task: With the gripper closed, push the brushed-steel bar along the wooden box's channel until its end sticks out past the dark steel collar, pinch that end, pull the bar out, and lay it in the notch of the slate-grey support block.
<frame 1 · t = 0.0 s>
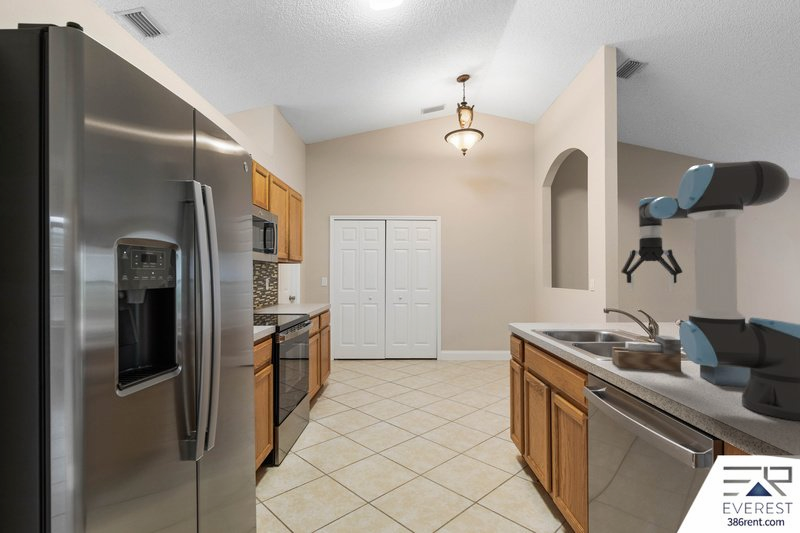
hand: (651, 291, 148), 28 cm above the worktop, tool pointing down, fingers open, 13 cm apart
v block: (725, 381, 122), on the worktop
wooden box: (644, 366, 142), on the worktop
steel bar: (650, 353, 141), point 5 cm above the worktop, touching wooden box
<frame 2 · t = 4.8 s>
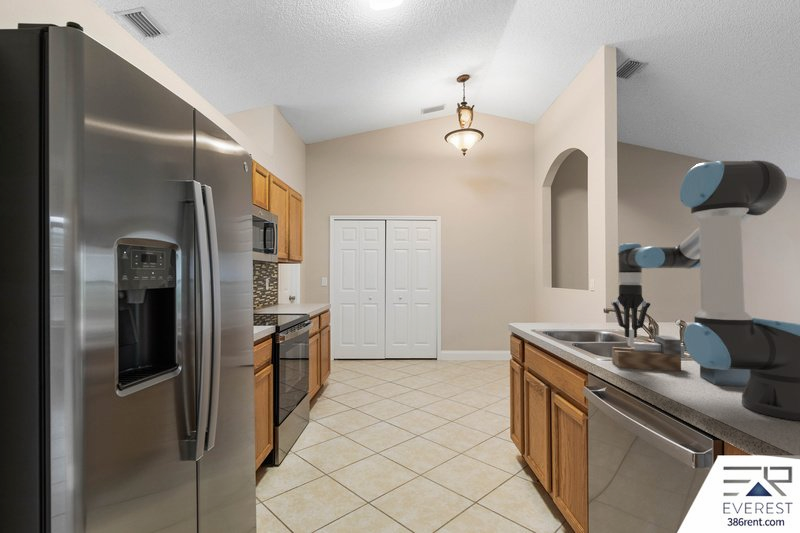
hand: (630, 346, 143), 7 cm above the worktop, tool pointing down, fingers closed
steel bar: (657, 353, 141), point 5 cm above the worktop, touching gripper
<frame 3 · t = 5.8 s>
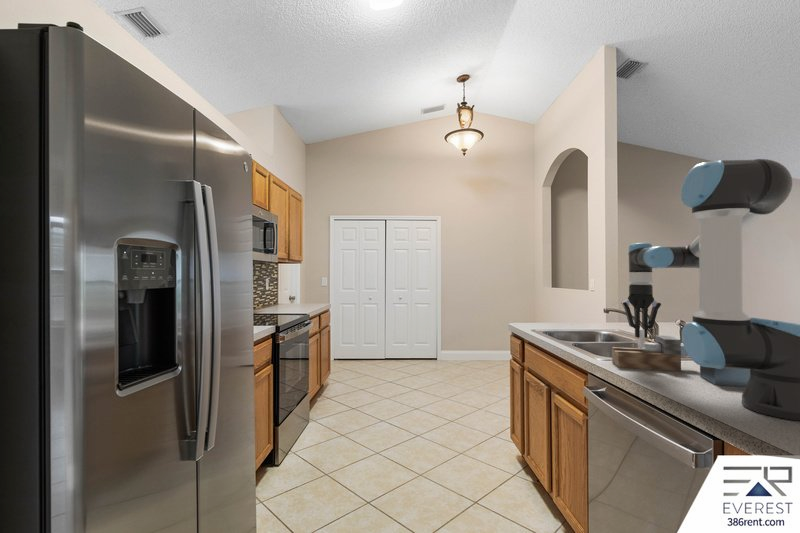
hand: (641, 346, 142), 7 cm above the worktop, tool pointing down, fingers closed
steel bar: (667, 353, 140), point 5 cm above the worktop, touching gripper, wooden box
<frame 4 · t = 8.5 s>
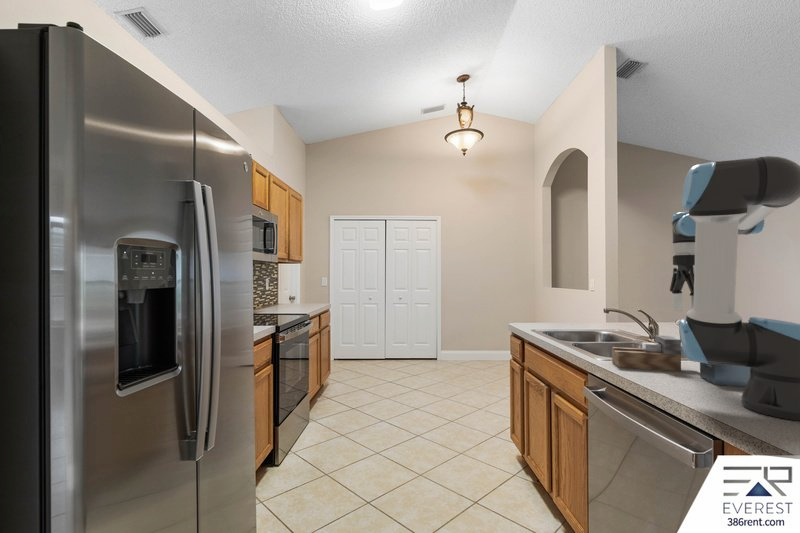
hand: (686, 312, 138), 21 cm above the worktop, tool pointing down, fingers open, 13 cm apart
steel bar: (668, 354, 140), point 5 cm above the worktop, touching wooden box
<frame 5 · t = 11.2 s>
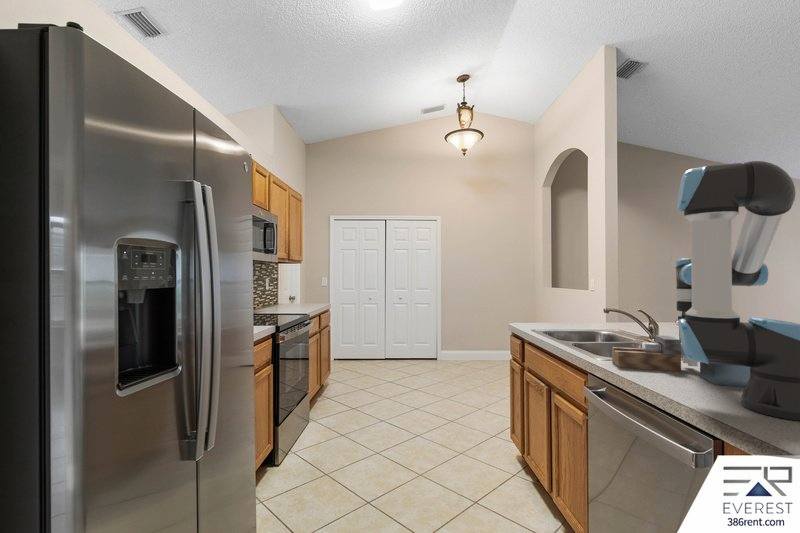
hand: (690, 364, 138), 2 cm above the worktop, tool pointing down, fingers closed on steel bar, 4 cm apart
steel bar: (668, 354, 140), point 5 cm above the worktop, touching gripper, wooden box
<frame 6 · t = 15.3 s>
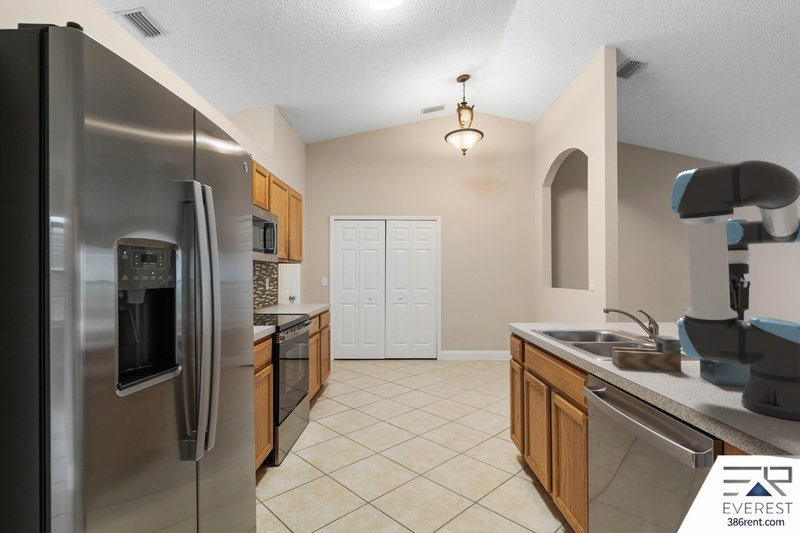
hand: (735, 328, 134), 15 cm above the worktop, tool pointing down, fingers closed on steel bar, 4 cm apart
steel bar: (712, 318, 136), point 19 cm above the worktop, touching gripper
when the fingers open (3 cm above the worktop, at t = 19.4 s): steel bar drops 2 cm, resting on v block.
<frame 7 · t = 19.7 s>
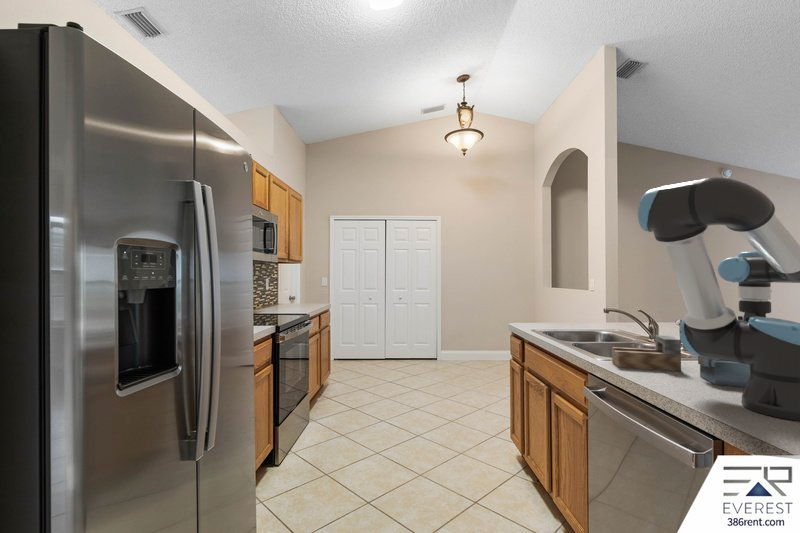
hand: (755, 372, 119), 4 cm above the worktop, tool pointing down, fingers open, 8 cm apart
steel bar: (730, 366, 121), point 5 cm above the worktop, touching v block
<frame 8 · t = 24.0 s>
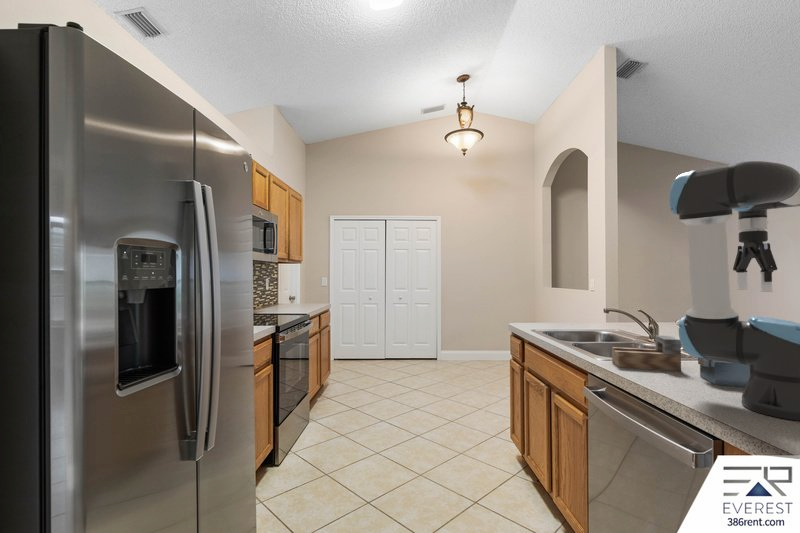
hand: (753, 291, 133), 29 cm above the worktop, tool pointing down, fingers open, 13 cm apart
nothing on the worktop moved.
at the end: steel bar 0.3 cm from the target spot on the v block, point 5.0 cm above the v block's base; steel bar tilted 0°; the gripper is holding nothing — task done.
